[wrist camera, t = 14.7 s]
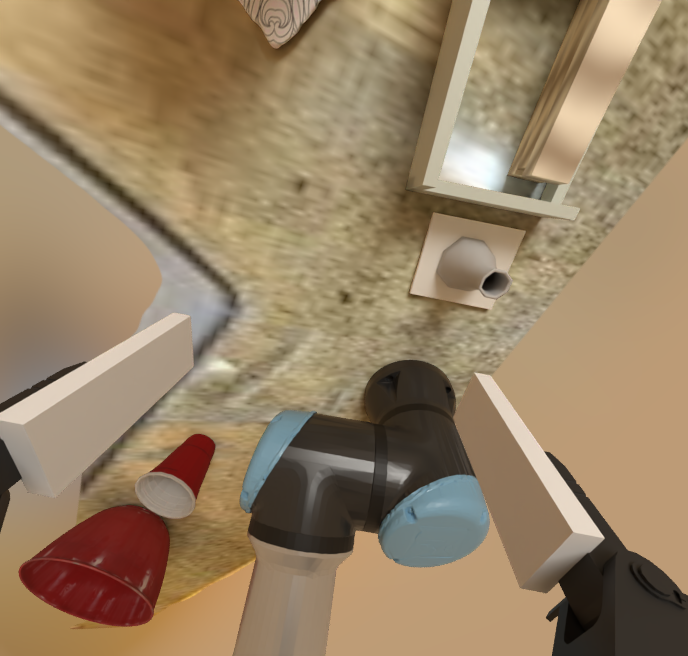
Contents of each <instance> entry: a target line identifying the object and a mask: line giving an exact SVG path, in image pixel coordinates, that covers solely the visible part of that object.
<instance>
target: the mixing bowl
mask: <svg viewBox="0 0 688 656" xmlns="http://www.w3.org/2000/svg"><path fill="white" fill-rule="evenodd" d="M169 546H170V539H169V533H168V531H167V528H166V526H165V523H164V522H163V520H162V519H161V518H160V517H159V516H158V515H156V514H155V513H153V512H151V511H149V510H147V509H145V508H142V507H138V506H132V505H126V506H118V507H113V508H109V509H106V510H103V511H101V512H99V513H97V514H95V515H93V516H92V517H90V518H88V519H86V520H85V521H83V522H81V523H80V524H78V525H77V526H75V527H74V528H72V529H71V530H69V531H68V532H66V533H65V534H63V535H62V536H60V537H59V538H58V539H56V540H55V541H53V542H52V543H51V544H49V545H48V546H47V547H46V548H44V549H43V550H42V551H40V552H39V553H38V554H37V555H35V556H34V557H33V558H32V559H30V560H28V561H27V562H25V563H23V564H22V565H21V567H20V569H19V577H20V579H21V581H22V583H23V584H24V585H25V587H26V588H28V590H29V591H30V592H32V593H33V594H34V595H35V596H37V597H38V598H40V599H41V600H43V601H44V602H46V603H48V604H49V605H51V606H53V607H55V608H57V609H59V610H61V611H63V612H66V613H68V614H71V615H73V616H76V617H79V618H82V619H85V620H88V621H92V622H96V623H100V624H106V625H112V626H138V625H142V624H145V623H147V622H148V621H150V620H151V619H152V617H153V614H154V608H155V605H156V602H157V599H158V596H159V593H160V589H161V586H162V583H163V579H164V575H165V570H166V566H167V561H168V554H169Z"/></svg>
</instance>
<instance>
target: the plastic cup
mask: <svg viewBox="0 0 688 656" xmlns="http://www.w3.org/2000/svg"><path fill="white" fill-rule="evenodd" d="M214 450H215V444H214V442H213V440H211V439H210V438H209V437H207V436H205V435H202V434H194V435H192V436H191V437H189V438H188V439H187V440H186V441H185V442H184V443H183V444H182V445H181V446H180V447H178V448H177V449H176V450H175V451H174V452H172V453H171V454H170V455H169V456H168V457H167V458H166V459H165V460H164V461H163V462H162V463H161V464H159V465H158V466H157V467H155V468H154V469H153V470H152V471H150V472H149V473H147V474H145V475H142V476H141V477H139V479H138V480H137V482H136V483H135V493H136V495H137V497H138V498H139V500H140V502H141V503H142V504H143V505H144V506H146V507H147V508H148V509H149V510H151V511H152V512H154V513H156V514H158V515H160V516H164V517H167V518H183V517H186V516H189V515H190V514H191V513H192V511H193V510H194V508H195V502H196V499H197V495H198V493H199V489H200V487H201V485H202V482H203V480H204V477H205V475H206V472H207V470H208V467H209V465H210V461H211V459H212V456H213V454H214Z"/></svg>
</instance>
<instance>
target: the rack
mask: <svg viewBox="0 0 688 656" xmlns="http://www.w3.org/2000/svg"><path fill="white" fill-rule="evenodd" d="M489 4H490V0H452V4H451V8H450V12H449V16H448V20H447V24H446V28H445V32H444V36H443V40H442V44H441V48H440V52H439V56H438V60H437V64H436V68H435V72H434V76H433V81H432V85H431V89H430V93H429V97H428V101H427V105H426V109H425V113H424V117H423V121H422V125H421V129H420V133H419V137H418V141H417V145H416V149H415V153H414V157H413V161H412V165H411V169H410V173H409V177H408V181H407V185H406V189H405V190H409V191H414V192H419V193H424V194H429V195H434V196H439V197H444V198H449V199H454V200H459V201H464V202H469V203H474V204H479V205H483V206H488V207H493V208H498V209H503V210H508V211H513V212H518V213H523V214H528V215H533V216H538V217H545V218H555V219H566V220H575V218H576V216H577V214H578V212H579V210H580V208H576V207H571V206H566V205H561V203H562V201H563V199H564V197H565V195H566V193H567V191H568V189H569V186H570V184H571V182H572V180H573V178H574V176H575V174H576V172H577V170H578V168H579V166H580V163H581V161H582V159H583V157H584V155H585V153H586V151H587V149H588V147H589V145H590V143H591V141H590V143H589V145H588V147H587V149H586V151H585V153H584V154H583V156H582V158H581V160H580V162H579V164H578V166H577V168H576V170H575V172H574V174H573V176H572V178H571V180H570V182H569V184H562V185H555V184H551V183H547V185H546V187H545V189H544V192H543V194H542V196H541V198H540V200H537V199H532V198H527V197H522V196H517V195H512V194H507V193H502V192H497V191H492V190H487V189H482V188H477V187H472V186H467V185H462V184H457V183H452V182H447V181H442V180H438V179H439V176H440V172H441V169H442V165H443V162H444V158H445V155H446V152H447V148H448V145H449V141H450V138H451V134H452V131H453V127H454V124H455V121H456V117H457V114H458V110H459V107H460V103H461V100H462V96H463V93H464V90H465V86H466V83H467V79H468V76H469V72H470V69H471V66H472V62H473V59H474V55H475V52H476V48H477V45H478V41H479V38H480V35H481V31H482V28H483V24H484V21H485V17H486V14H487V10H488V7H489ZM602 118H603V117H602ZM601 120H602V119H601ZM600 122H601V121H600ZM599 124H600V123H599ZM598 126H599V125H598ZM597 128H598V127H597ZM596 130H597V129H596ZM595 132H596V131H595ZM594 134H595V133H594ZM593 136H594V135H593ZM592 138H593V137H592ZM591 140H592V139H591Z"/></svg>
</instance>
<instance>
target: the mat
mask: <svg viewBox="0 0 688 656" xmlns="http://www.w3.org/2000/svg"><path fill="white" fill-rule="evenodd" d="M525 233H526V231H524V230H519V229H514V228H509V227H504V226H499V225H494V224H489V223H484V222H479V221H474V220H469V219H464V218H459V217H454V216H449V215H444V214H439V213H434V212H433V214H432V217H431V221H430V224H429V227H428V231H427V234H426V237H425V241H424V244H423V248H422V251H421V254H420V258H419V261H418V264H417V268H416V271H415V275H414V278H413V281H412V285H411V288H410V291H409V292H410V294H415V295H420V296H425V297H430V298H435V299H440V300H445V301H450V302H455V303H460V304H465V305H470V306H475V307H480V308H486V309H492V307H493V304H494V302H495V300H496V299H491V298H486V297H484V296H483V295H482V293H481V292H480V291H479V290H473V291H464V290H460V289H455V288H450V287H448V286H447V285H446V284H445V282H444V281H443V280H442V279H441V277H440V276H439V275H438V273H437V272H436V271H437V268H438V266H439V263H440V260H441V257H442V254H443V251H444V250H445V249H447V248H448V247H449V246H450V245H452V244H453V243H454V242H456V241H457V240H458V239H459V238H461V237H462V236H464V237H469V238H474V239H478V240H483V241H484V242H485V243H486V245H487V246H488V248H489V249H490V250H491V252H492V253H493V255H494V256H495V258H496V267H497V269H500V270H505V271H507V272H508V271H509V268H510V266H511V264H512V262H513V259H514V257H515V255H516V253H517V250H518V248H519V246H520V244H521V242H522V239H523V237H524V235H525Z"/></svg>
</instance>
